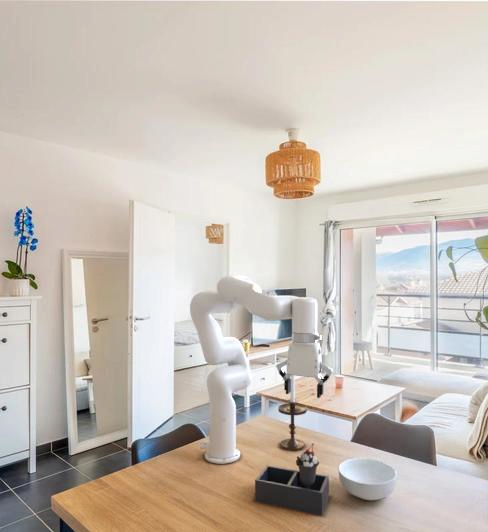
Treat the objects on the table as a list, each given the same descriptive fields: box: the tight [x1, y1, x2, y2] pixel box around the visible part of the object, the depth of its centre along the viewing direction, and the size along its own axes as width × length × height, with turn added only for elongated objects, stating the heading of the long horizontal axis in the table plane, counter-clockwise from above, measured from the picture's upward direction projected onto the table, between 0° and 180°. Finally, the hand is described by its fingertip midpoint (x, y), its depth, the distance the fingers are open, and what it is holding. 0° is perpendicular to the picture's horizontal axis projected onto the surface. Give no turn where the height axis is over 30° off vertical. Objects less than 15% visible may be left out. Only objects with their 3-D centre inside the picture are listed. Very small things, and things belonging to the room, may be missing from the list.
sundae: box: [295, 443, 320, 489], centre depth 115 cm, size 7×7×15 cm
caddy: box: [254, 464, 330, 517], centre depth 116 cm, size 10×19×6 cm, turn 69°
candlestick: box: [277, 375, 308, 452], centre depth 154 cm, size 11×11×35 cm
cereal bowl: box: [338, 457, 398, 501], centre depth 120 cm, size 17×17×7 cm
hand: (303, 394), depth 121 cm, fingers open, 9 cm apart
